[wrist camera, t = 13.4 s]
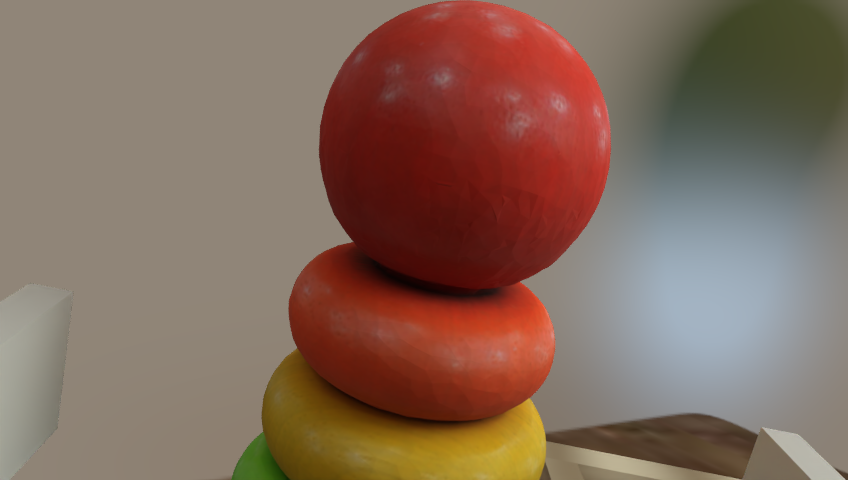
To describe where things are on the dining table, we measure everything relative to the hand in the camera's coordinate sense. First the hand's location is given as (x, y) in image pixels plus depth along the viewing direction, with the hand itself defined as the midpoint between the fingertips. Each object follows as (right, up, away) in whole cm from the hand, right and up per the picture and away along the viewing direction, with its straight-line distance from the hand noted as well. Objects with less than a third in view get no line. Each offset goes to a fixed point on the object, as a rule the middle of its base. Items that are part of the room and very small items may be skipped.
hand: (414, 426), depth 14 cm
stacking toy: (-3, -10, +3) cm, 11 cm away
